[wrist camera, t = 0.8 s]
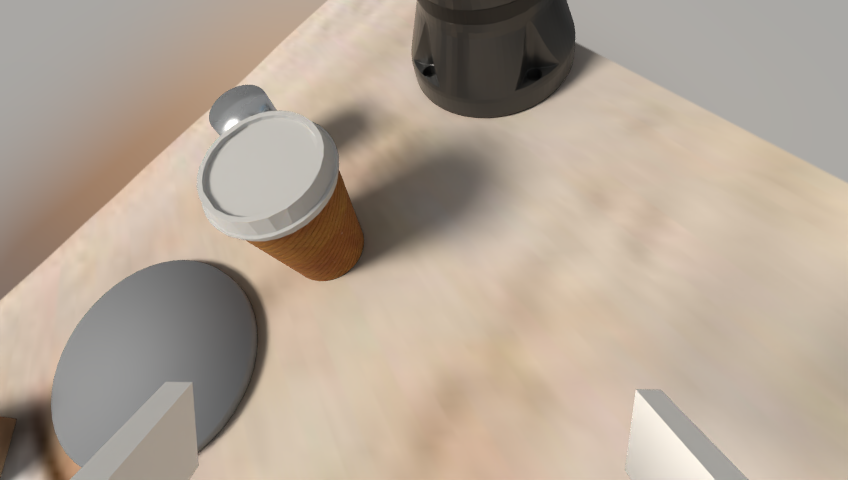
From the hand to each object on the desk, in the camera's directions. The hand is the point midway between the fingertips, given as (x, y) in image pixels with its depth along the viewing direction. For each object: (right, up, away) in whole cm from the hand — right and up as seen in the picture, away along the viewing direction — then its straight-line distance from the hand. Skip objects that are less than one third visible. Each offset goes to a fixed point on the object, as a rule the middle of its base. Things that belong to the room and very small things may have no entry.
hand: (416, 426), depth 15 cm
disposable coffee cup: (-8, +5, +27) cm, 29 cm away
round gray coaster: (-21, -4, +25) cm, 33 cm away
